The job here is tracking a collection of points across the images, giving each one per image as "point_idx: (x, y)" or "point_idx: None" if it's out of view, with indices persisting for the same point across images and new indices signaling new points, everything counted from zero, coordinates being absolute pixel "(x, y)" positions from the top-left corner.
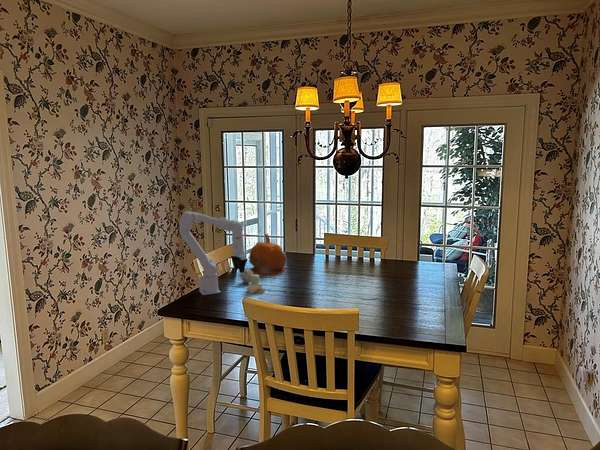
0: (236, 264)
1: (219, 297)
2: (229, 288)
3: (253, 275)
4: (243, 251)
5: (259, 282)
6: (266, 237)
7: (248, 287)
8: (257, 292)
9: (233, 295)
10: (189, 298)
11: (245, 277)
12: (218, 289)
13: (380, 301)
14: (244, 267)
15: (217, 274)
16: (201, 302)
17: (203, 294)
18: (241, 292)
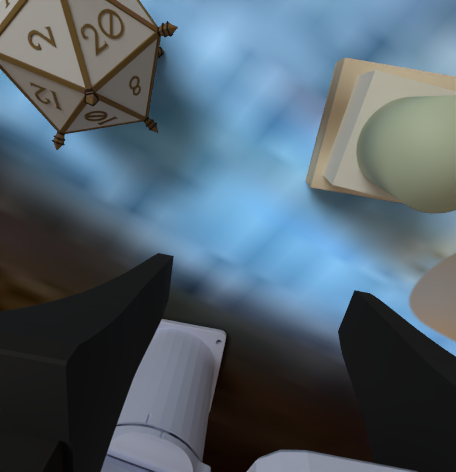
0: (145, 328)
1: (300, 369)
2: (170, 250)
3: (424, 167)
4: None
5: (422, 92)
6: None
7: (328, 182)
8: None
9: (329, 301)
10: (209, 457)
11: (136, 108)
12: (172, 325)
13: None
14: (418, 336)
15: (172, 441)
16: (306, 449)
17: (209, 411)
18: (313, 234)
